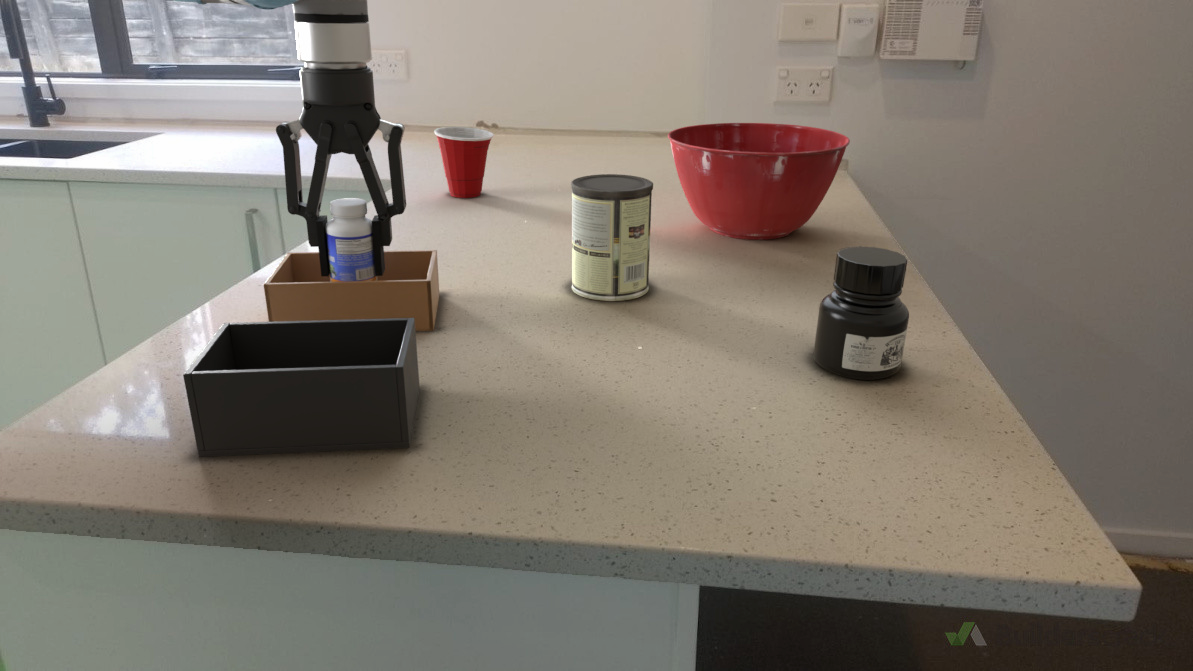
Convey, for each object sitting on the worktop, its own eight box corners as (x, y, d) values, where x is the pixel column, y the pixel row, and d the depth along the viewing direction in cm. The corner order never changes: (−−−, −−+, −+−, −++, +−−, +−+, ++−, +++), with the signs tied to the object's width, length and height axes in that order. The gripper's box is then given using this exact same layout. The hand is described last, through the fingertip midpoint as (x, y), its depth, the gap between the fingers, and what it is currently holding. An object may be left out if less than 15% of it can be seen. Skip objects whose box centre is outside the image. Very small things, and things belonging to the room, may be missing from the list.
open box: (198, 457, 70) (182, 374, 67) (236, 396, 80) (223, 322, 77) (409, 448, 71) (403, 367, 69) (419, 390, 82) (414, 317, 79)
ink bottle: (856, 390, 83) (873, 275, 79) (792, 358, 90) (805, 251, 85) (920, 369, 88) (940, 260, 83) (855, 341, 95) (870, 238, 90)
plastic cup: (482, 203, 152) (480, 136, 148) (427, 198, 155) (423, 133, 150) (503, 190, 162) (502, 127, 157) (452, 186, 165) (449, 124, 160)
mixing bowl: (692, 258, 124) (699, 152, 118) (644, 210, 149) (648, 122, 143) (869, 250, 129) (884, 148, 123) (793, 205, 155) (802, 120, 149)
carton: (270, 335, 94) (263, 284, 92) (293, 298, 105) (287, 252, 103) (433, 330, 96) (430, 280, 94) (439, 295, 107) (436, 249, 105)
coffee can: (590, 271, 117) (592, 170, 111) (660, 283, 113) (665, 178, 107) (556, 294, 108) (556, 185, 103) (630, 306, 104) (634, 194, 99)
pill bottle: (333, 276, 101) (325, 196, 97) (379, 275, 102) (373, 195, 98) (328, 291, 96) (319, 207, 92) (376, 289, 97) (370, 206, 93)
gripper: (426, 63, 94) (435, 262, 103) (255, 60, 92) (279, 263, 101) (421, 69, 87) (431, 281, 96) (236, 66, 85) (264, 283, 94)
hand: (353, 272), depth 98 cm, fingers closed on pill bottle, 5 cm apart
